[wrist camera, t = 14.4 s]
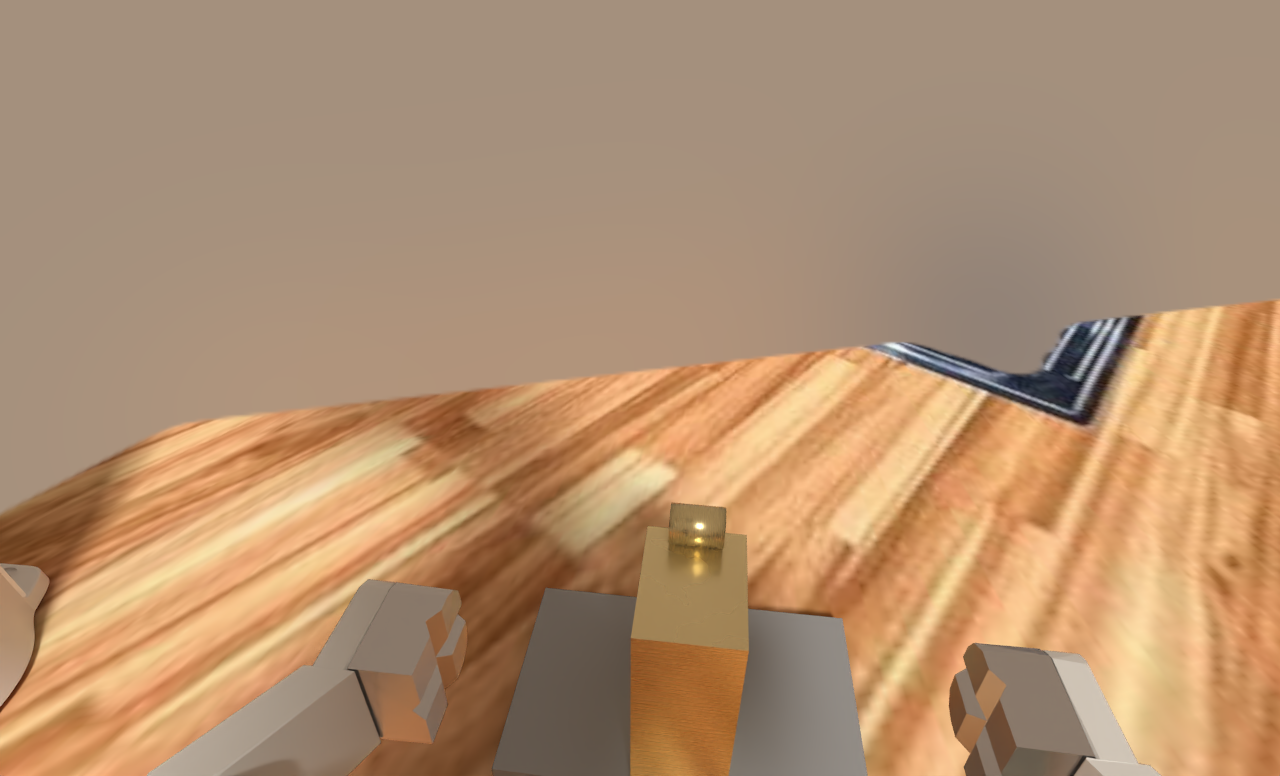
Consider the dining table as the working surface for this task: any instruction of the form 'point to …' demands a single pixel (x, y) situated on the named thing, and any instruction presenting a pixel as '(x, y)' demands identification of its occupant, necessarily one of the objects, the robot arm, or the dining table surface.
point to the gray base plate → (601, 695)
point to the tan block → (688, 645)
